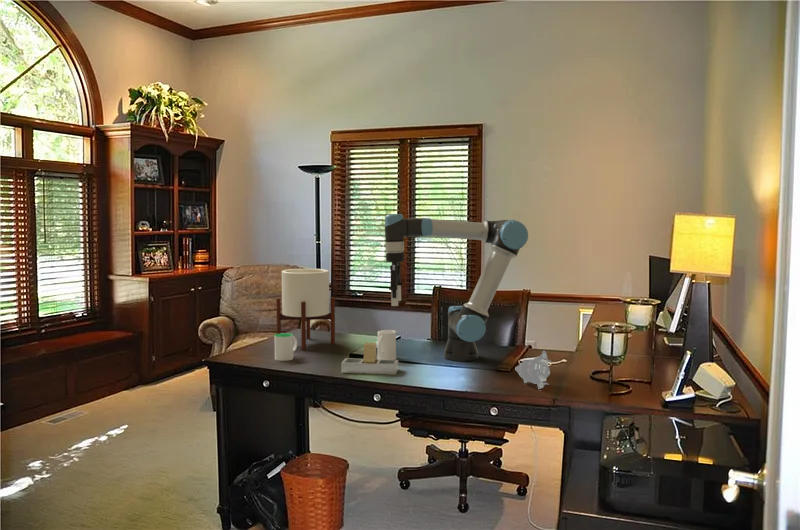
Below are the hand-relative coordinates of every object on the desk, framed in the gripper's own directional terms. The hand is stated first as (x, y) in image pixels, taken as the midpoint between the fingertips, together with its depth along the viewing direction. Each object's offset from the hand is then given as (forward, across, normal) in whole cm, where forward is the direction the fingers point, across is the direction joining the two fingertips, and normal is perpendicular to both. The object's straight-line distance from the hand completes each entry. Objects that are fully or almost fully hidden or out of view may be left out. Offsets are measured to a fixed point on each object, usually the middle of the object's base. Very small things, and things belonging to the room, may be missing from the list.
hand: (396, 303), depth 259 cm
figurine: (+28, +23, +52) cm, 64 cm away
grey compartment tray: (+26, +9, -11) cm, 30 cm away
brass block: (+25, +9, -11) cm, 29 cm away
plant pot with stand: (+25, -38, -49) cm, 67 cm away
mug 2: (+27, -12, -7) cm, 30 cm away
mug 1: (+25, -10, -50) cm, 57 cm away
